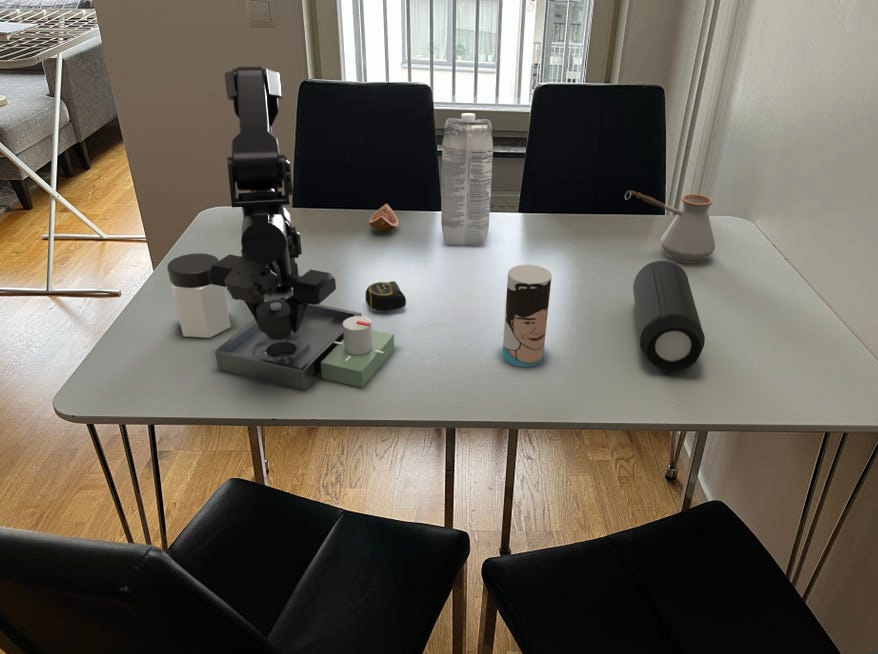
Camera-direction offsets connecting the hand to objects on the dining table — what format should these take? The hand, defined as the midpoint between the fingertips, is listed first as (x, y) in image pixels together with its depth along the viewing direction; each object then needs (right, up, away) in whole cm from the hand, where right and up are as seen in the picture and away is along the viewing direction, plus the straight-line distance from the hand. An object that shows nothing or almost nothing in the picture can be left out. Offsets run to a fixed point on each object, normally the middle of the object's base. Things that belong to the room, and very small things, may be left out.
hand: (278, 327), depth 111 cm
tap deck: (+12, -6, +3) cm, 14 cm away
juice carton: (+29, +22, +47) cm, 60 cm away
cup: (+39, -5, +6) cm, 40 cm away
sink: (+1, -3, +6) cm, 7 cm away
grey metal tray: (+1, -3, +6) cm, 7 cm away
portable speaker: (+64, -1, +13) cm, 65 cm away
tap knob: (+12, -3, +1) cm, 13 cm away
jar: (-16, +1, +12) cm, 20 cm away
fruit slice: (+11, +24, +51) cm, 57 cm away
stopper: (0, -1, +1) cm, 1 cm away
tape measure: (+15, +5, +20) cm, 25 cm away
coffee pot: (+73, +17, +43) cm, 86 cm away
